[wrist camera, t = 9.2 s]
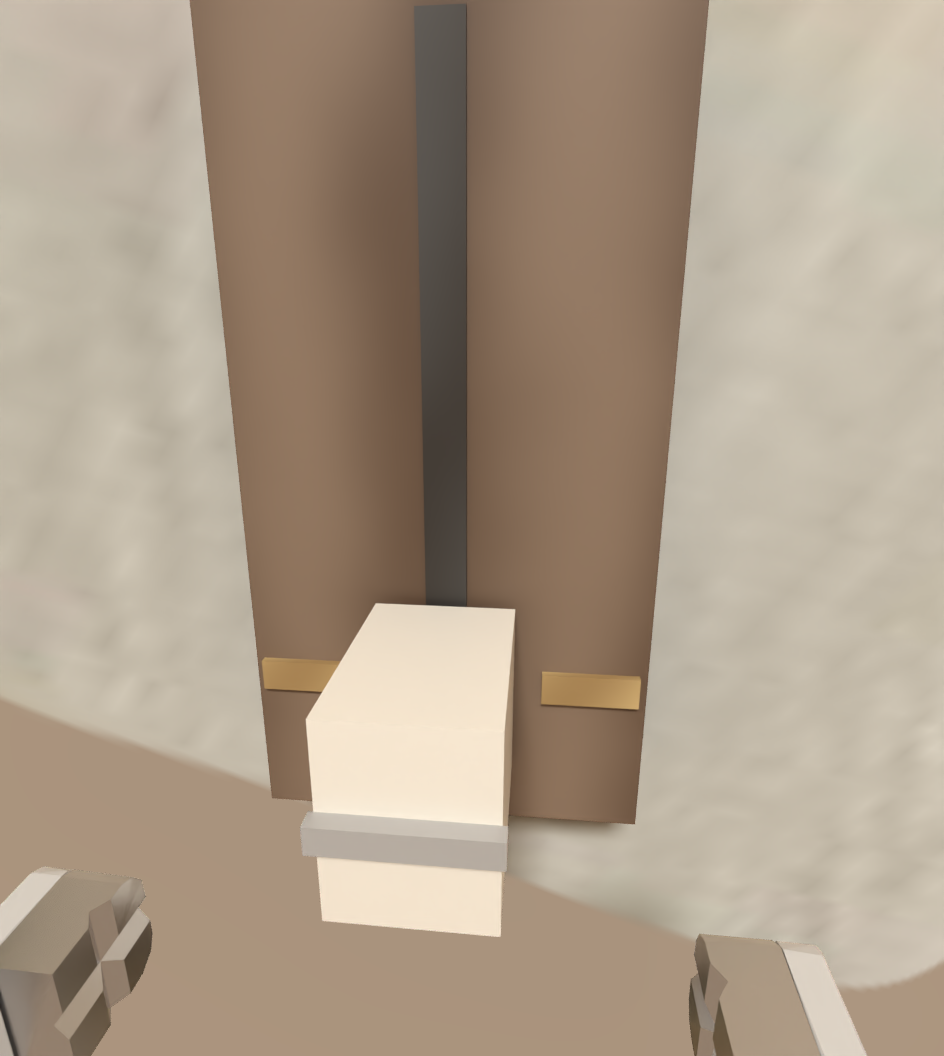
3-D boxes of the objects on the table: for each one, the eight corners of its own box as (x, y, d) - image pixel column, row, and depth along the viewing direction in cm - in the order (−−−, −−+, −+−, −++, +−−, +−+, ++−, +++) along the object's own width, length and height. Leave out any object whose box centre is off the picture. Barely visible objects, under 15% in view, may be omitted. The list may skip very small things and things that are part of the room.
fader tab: (519, 609, 16) (509, 746, 10) (515, 766, 17) (504, 957, 12) (371, 602, 16) (291, 733, 11) (379, 757, 17) (310, 939, 12)
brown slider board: (682, -20, 14) (721, -114, 11) (621, 754, 20) (635, 829, 17) (248, 1, 15) (176, -81, 12) (308, 734, 21) (269, 802, 18)
